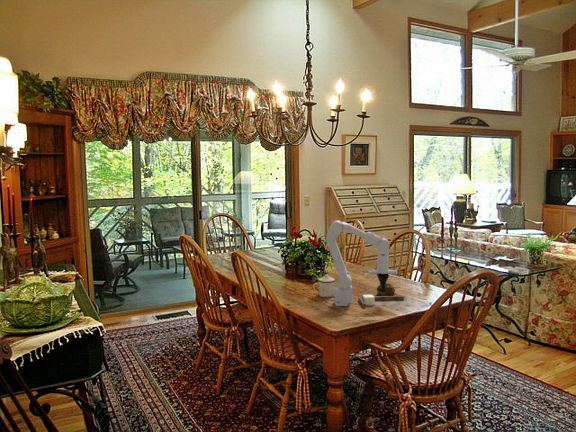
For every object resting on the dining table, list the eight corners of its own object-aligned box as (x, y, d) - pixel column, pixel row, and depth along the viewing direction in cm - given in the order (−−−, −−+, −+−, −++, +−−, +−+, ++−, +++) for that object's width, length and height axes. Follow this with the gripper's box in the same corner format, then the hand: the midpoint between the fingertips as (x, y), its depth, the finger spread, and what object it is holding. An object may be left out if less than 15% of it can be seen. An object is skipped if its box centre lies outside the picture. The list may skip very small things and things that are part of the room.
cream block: (364, 305, 245) (364, 297, 244) (362, 302, 250) (362, 294, 249) (374, 304, 245) (374, 297, 244) (372, 302, 250) (372, 294, 249)
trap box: (363, 310, 240) (363, 303, 240) (358, 303, 253) (358, 296, 253) (410, 309, 241) (411, 302, 241) (403, 302, 254) (403, 295, 254)
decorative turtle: (384, 302, 255) (383, 287, 255) (372, 296, 270) (371, 282, 269) (401, 299, 258) (400, 284, 257) (387, 294, 272) (386, 280, 272)
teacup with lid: (332, 292, 275) (332, 272, 273) (336, 297, 266) (336, 276, 264) (312, 293, 273) (312, 273, 272) (314, 298, 264) (314, 277, 263)
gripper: (370, 263, 242) (370, 290, 243) (399, 263, 242) (398, 289, 244) (367, 261, 249) (367, 286, 250) (395, 260, 249) (394, 286, 251)
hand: (382, 288), depth 247 cm, fingers closed
